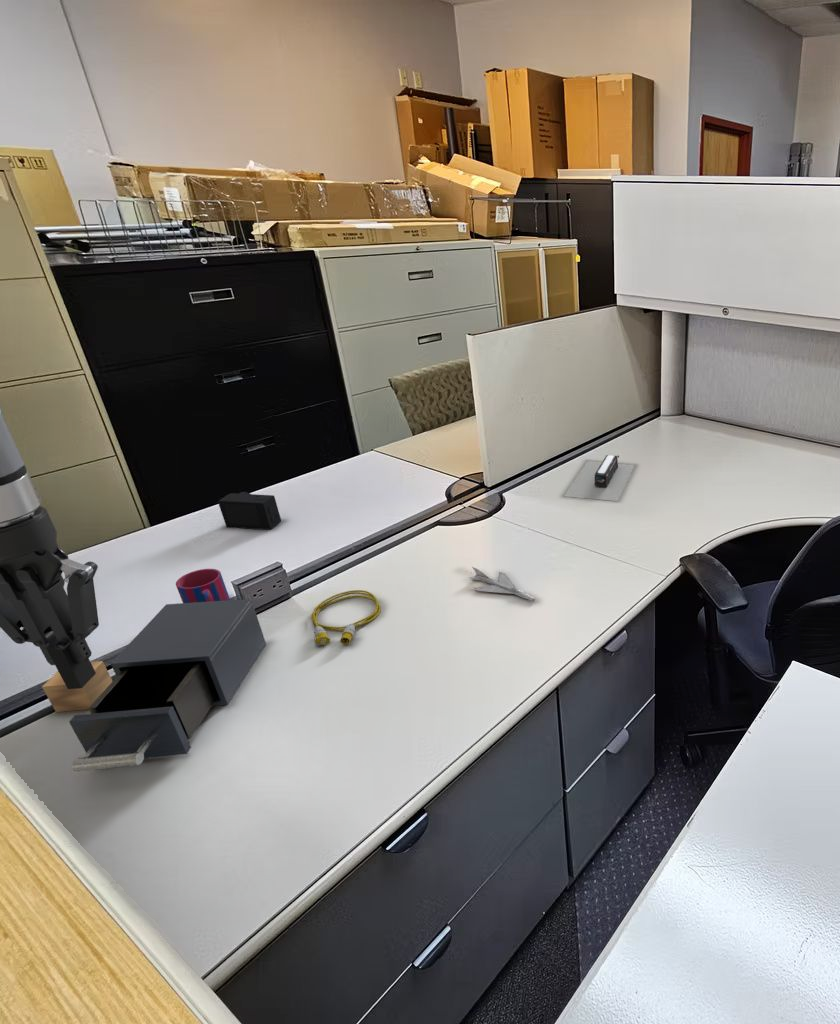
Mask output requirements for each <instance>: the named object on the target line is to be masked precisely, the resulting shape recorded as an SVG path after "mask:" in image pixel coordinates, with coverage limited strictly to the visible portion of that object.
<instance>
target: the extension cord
mask: <svg viewBox="0 0 840 1024" xmlns="http://www.w3.org/2000/svg"><path fill="white" fill-rule="evenodd" d="M352 598H364V599H368V600H371V601H373V602H375V610H374V611H373V613H371V614H370V615H368V616H366V617H364V618H362V619H360V620H357V621H356V622H352V623H350V624H347V625H344V626H330V625H324V624H322V623H319V622H318V621H317V620H318V619H317V618H318V615H319V613H320V612H321V611H322V609H324V608H325V607H328V606H329V605H332V604H334V603H337V602H339V601H343V600H347V599H352ZM380 613H381V604H380V602H379V601H378V599H377V597H376V596H375V595H374V594H373V593H371V592H370V591H367V590H363V589H362V590H361V589H354V590H347V591H343V592H339V593H336V594H334V595H332V596H329V597H328V598H326V599H324V600H323V601H321V602H320V603H319V604H318V605H316V606H315V607H314V609H313V611H312V613H311V616H310V619H311V621H312V623H314V625H315V628H313V634H314V637H315V639H314V643H316V644H318V645H319V646H325V645H327V644H329V643H330V641H331V638H329V635H328V634H327V631H326V630H328V631H336V632H342V634H341V637H340V640H339V642H340V643H341V644H342V645H349V644H351V640H353V639H354V638H353V637H354V636H355V633H356V632H355V630H356V628H357V627H360V626H362V625H365V624H369V623H370V622H373V620H375V619H376V618H377V617H378V616H379V614H380Z"/></svg>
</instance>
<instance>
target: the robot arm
mask: <svg viewBox="0 0 840 1024" xmlns="http://www.w3.org/2000/svg"><path fill="white" fill-rule="evenodd" d="M15 442H16V441H15V440H14V438H13V435H12V434H11V431H10V429H9V427H8V425H7V423H6V419H5V418H4V416H3V414H2V409H1V408H0V629H1V630H2V631H3V632H4V633H5V634H6V635H7V637H9V638H10V639H11V641H12V642H14V643H15V644H18V645H22V644H25V643H32V645H34V646H35V647H38V648H39V649H40V651H41V653H42V655H43V656H44V658H45V660H46V663H48V664H49V665H50V666H55V668H56V670H57V672H59V673H60V675H61V677H62V679H63V681H64V683H65V685H66V687H67V688H68V689H78V688H82V687H83V686H84V685H85V684H86V683H87V682H88V681H89V680H90V679H91V678H92V677H93V676H94V675H95V674H96V672H95V670H94V668H93V666H92V664H91V662H92V661H91V660H90V657H91V656H92V650H91V648H90V646H89V644H88V642H87V640H86V639H87V637H88V636H90V635H91V634H92V633H93V632H94V631H95V630H96V629H97V628H98V627H99V625H100V623H99V615H98V606H97V599H96V598H97V597H96V590H95V583H94V578H95V575H96V573H97V570H98V568H99V565H98V564H97V563H96V562H94V561H87V562H85V563H81V562H77V561H74V560H72V559H70V558H69V555H68V553H67V552H66V551H65V550H63V549H62V548H61V547H60V546H59V544H58V539H57V538H58V537H57V536H58V531H57V529H56V527H55V525H54V523H53V521H52V519H51V517H50V515H49V512H48V510H47V509H46V507H45V506H44V507H43V506H41V505H42V499H41V497H40V494H39V492H38V490H37V488H36V486H35V484H34V481H33V480H32V478H31V475H30V474H29V471H28V469H27V467H26V464H25V463H24V461H23V458H22V456H21V454H20V451H19V449H18V447H17V445H16V443H15ZM63 573H64V577H63V575H62V574H63ZM66 583H67V585H66V589H65V584H66Z"/></svg>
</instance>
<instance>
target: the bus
mask: <svg viewBox="0 0 840 1024" xmlns="http://www.w3.org/2000/svg"><path fill="white" fill-rule="evenodd" d="M618 458H620V455H618V454H617V455H615V454H613V455H612V454H606V455H605V456H604V458H603V460H602V461H591V460H588V461H586V463H585V465H584V466H583V467H582V469H581V471H579V473H578V474H577V476H576V478H575V480H574V481H573V482H572V484H571V485H570V487H569V488H568V490H567V492H566V493H565V495H564V497H569V498H577V499H579V498H580V499H589V500H601V501H613V502H618V501H619V498H620V497H621V495H622V492H623V490H624V489H625V486H626V484H627V483H628V480H629V478H630V476H631V475H632V472H633V470H634V467H635V465H636V464H624V463H619V462H618V460H619V459H618Z"/></svg>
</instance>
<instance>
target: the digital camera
mask: <svg viewBox="0 0 840 1024" xmlns="http://www.w3.org/2000/svg"><path fill="white" fill-rule="evenodd" d="M217 503H218V506H219V509H220V512H221V516H222V518H223V521H224V524H225V527H226V528H228V529H247V530H248V529H249V530H268V531H269V530H272V529H274V528H275V527H276V526H278V525H279V524H280V523H281V522H282V519H281V518H282V517H281V515H280V511H279V508H278V503H277V500H276V497H275V495H274V494H273V495H272V494H253V493H250V492H247V491H241V492H239V493H233V492H230V493H229V494H226V495H225V496H224V497H222V498H220V499H218V501H217Z"/></svg>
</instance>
